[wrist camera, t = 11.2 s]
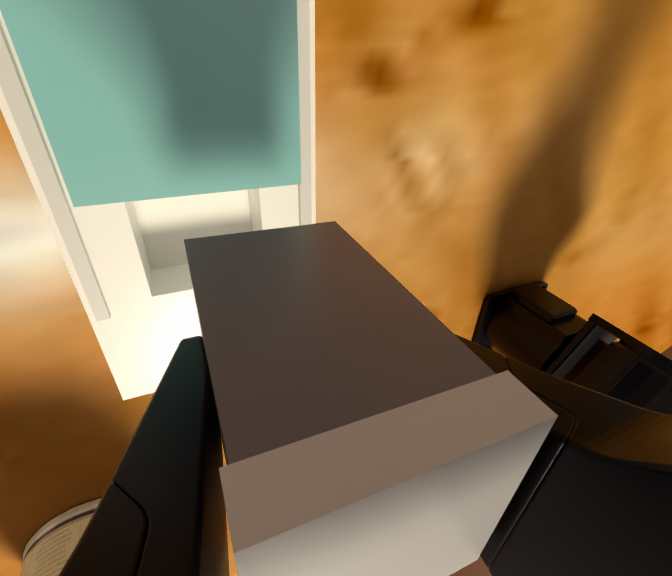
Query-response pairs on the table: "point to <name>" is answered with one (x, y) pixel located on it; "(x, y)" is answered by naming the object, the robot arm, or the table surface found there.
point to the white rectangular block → (350, 412)
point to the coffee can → (56, 541)
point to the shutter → (163, 93)
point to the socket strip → (150, 230)
